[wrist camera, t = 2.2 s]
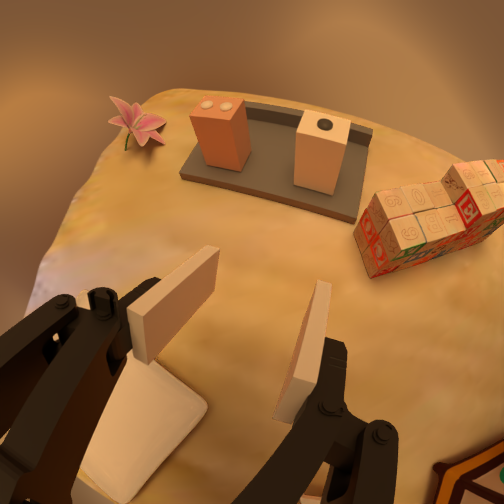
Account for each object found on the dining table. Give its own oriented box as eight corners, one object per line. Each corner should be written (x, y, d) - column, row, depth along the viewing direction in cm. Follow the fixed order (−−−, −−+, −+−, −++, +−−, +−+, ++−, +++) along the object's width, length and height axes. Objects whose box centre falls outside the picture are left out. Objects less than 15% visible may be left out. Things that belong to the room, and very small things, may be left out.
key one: (338, 171, 33) (351, 118, 24) (332, 195, 31) (346, 142, 23) (301, 161, 34) (305, 107, 25) (293, 184, 32) (296, 129, 24)
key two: (251, 150, 35) (243, 97, 27) (240, 171, 34) (229, 118, 25) (218, 144, 36) (204, 93, 28) (206, 164, 35) (188, 113, 26)
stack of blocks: (368, 281, 29) (415, 235, 18) (351, 233, 31) (382, 169, 20) (482, 241, 29) (530, 200, 18) (465, 205, 31) (506, 157, 20)
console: (366, 147, 36) (372, 129, 32) (353, 224, 32) (362, 207, 28) (221, 116, 41) (217, 98, 37) (182, 178, 37) (173, 161, 33)
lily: (149, 180, 39) (157, 127, 32) (88, 161, 36) (88, 111, 29) (174, 143, 46) (186, 99, 39) (121, 128, 44) (127, 84, 37)
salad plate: (38, 395, 26) (22, 395, 23) (97, 291, 32) (82, 284, 29) (134, 500, 20) (122, 509, 17) (219, 399, 26) (212, 404, 23)
